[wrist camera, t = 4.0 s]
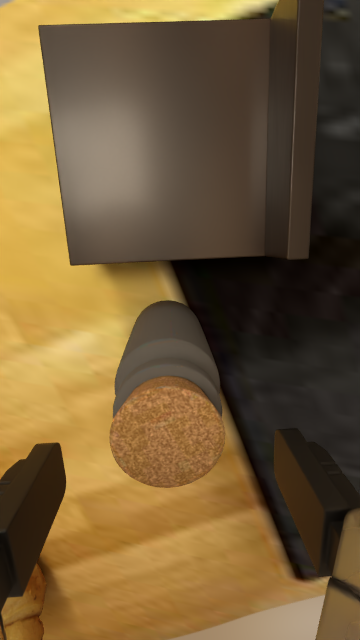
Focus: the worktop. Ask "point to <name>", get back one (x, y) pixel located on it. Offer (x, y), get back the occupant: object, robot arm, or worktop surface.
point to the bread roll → (26, 610)
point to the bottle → (167, 400)
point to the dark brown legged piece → (186, 135)
